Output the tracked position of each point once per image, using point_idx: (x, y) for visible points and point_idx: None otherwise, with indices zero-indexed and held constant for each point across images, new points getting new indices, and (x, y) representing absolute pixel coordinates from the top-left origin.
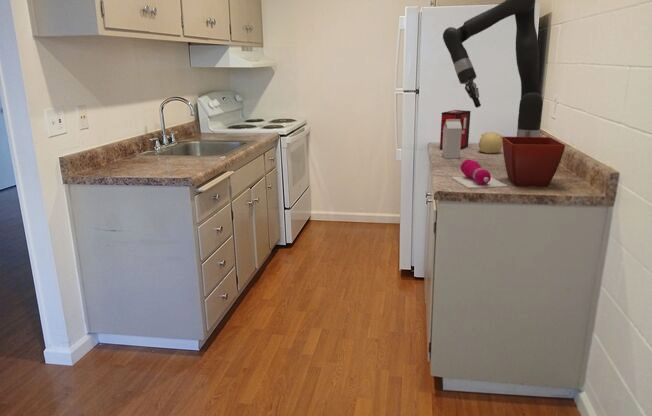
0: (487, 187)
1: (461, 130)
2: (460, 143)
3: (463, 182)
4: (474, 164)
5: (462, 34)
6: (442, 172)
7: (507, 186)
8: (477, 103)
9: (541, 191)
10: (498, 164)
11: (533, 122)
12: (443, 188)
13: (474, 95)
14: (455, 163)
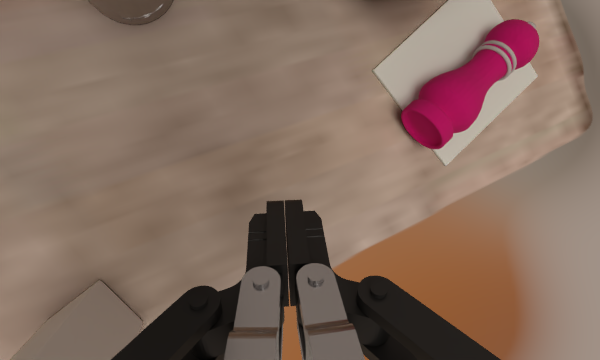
0: None
1: (39, 354)
2: (74, 312)
3: (492, 107)
4: (481, 88)
5: None
6: (384, 220)
7: None
8: (320, 227)
9: None
10: (130, 95)
11: None
12: (557, 135)
13: (391, 289)
14: (214, 249)
